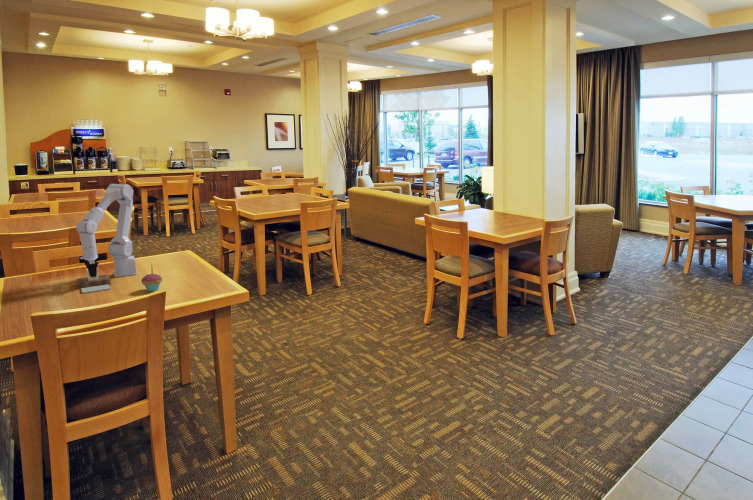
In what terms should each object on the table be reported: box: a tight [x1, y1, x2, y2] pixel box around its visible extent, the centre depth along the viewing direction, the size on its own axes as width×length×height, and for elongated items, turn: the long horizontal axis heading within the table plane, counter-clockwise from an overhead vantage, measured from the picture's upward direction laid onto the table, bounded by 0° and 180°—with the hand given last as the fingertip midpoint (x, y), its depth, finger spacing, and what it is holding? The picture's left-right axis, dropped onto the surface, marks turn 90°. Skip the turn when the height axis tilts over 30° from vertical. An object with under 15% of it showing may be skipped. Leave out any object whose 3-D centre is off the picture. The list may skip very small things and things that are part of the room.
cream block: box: [85, 267, 100, 281], centre depth 235 cm, size 4×4×7 cm
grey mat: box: [80, 284, 111, 294], centre depth 228 cm, size 11×7×1 cm, turn 122°
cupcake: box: [141, 263, 163, 292], centre depth 226 cm, size 9×8×12 cm
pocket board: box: [76, 274, 112, 290], centre depth 236 cm, size 13×9×2 cm
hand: (93, 275), depth 235 cm, fingers closed on cream block, 4 cm apart
